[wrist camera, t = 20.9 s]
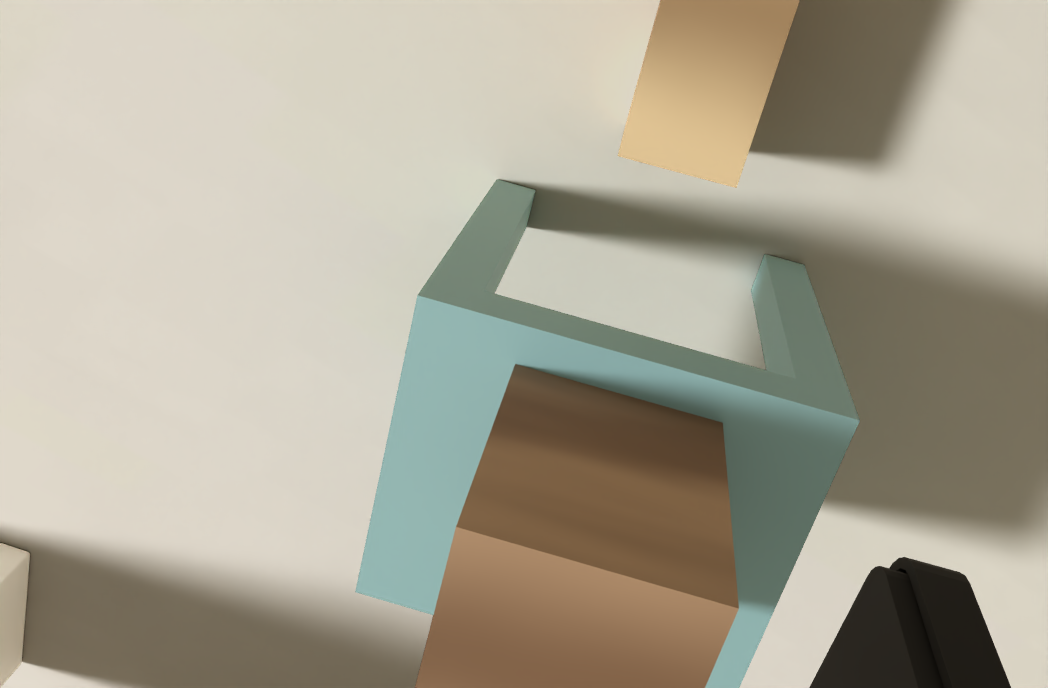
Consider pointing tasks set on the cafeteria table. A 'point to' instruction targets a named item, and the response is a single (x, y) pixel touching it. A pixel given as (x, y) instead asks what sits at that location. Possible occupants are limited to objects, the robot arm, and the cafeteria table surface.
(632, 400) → the block
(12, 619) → the milk
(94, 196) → the cafeteria table surface
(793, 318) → the teal stool
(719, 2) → the plank
